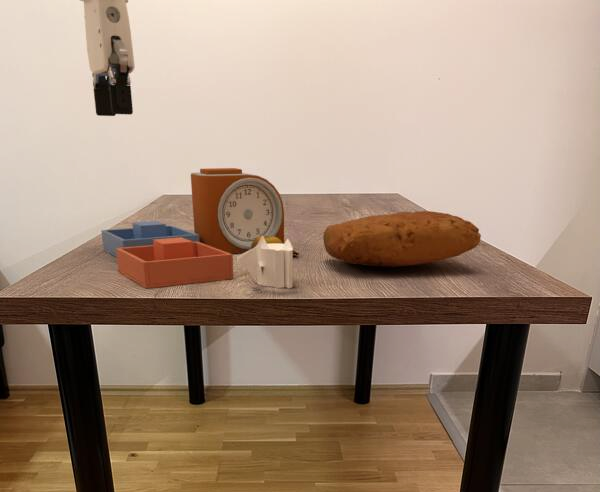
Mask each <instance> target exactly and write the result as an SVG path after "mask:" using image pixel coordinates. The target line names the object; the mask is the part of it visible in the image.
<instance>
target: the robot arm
mask: <svg viewBox="0 0 600 492" xmlns="http://www.w3.org/2000/svg"><path fill="white" fill-rule="evenodd" d="M79 1H80V2H83V11H84V12H83V13H84V15H83V16H84V17H83V18H84V28H85V41H86V50H87V51H86V52H87V59H88V66H89V70H90V71H91V74H92V75H91V76H92V78H93V79H92V87H93V96H94V97H93V98H94V106H95V114H96V116H100V117H115V116H116V115H133V114H134V110H133V109H134V107H133V98H132V97H133V96H132V86H131V82H132V81H131V77H130V74H131V73H132V72H134V70H135V56H134V48H133V47H134V46H133V39H132V33H131V32H132V31H131V26H130V25H131V24H130V18H129V12H128V7H127V3H129V0H79Z"/></svg>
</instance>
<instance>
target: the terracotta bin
mask: <svg viewBox="0 0 600 492" xmlns="http://www.w3.org/2000/svg"><path fill="white" fill-rule="evenodd" d="M116 253H117V258H116V260H117V269H118V272H119V273H120V274H122V275H123V276H125V277H127V278H128V279H130V280H132V281H133V282H135V283H136V284H137V285H139V286H141V287H143V288H144V289H153V288H154V289H155V288H162V287H163V288H164V287H172V286H180V285H189V284H197V283H199V284H200V283H207V282H208V283H209V282H215V281H226V280H233V279H234V257H233V254H234V253H233V254H230V253H228V252H225V251H222V250H219V249H217V248H214V247H211V246H208V245H206V244H203V243H200V242H193V253H194V257H190V258H179V259H168V260H157V261H155V257H154V246H153V245H149V246H137V247H125V248H116Z"/></svg>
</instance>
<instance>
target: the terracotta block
mask: <svg viewBox="0 0 600 492" xmlns="http://www.w3.org/2000/svg"><path fill="white" fill-rule="evenodd" d="M153 246H154V257H155V261H157V260H168V259H179V258H190V257H194V253H193V242H192V241H190V240H187V239H184V238H182V237H181V238H168V239H155V240H153Z"/></svg>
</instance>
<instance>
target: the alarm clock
mask: <svg viewBox="0 0 600 492" xmlns="http://www.w3.org/2000/svg"><path fill="white" fill-rule="evenodd" d="M190 185H191V199H192V200H191V202H192V216H193V231H194V232H193V233H195V234H198V235H199V241H200V243H203V244H206V245H208V246H211V247H214V248H217V249H219V250H222V251H225V252H228V253H230V254H243V253H245V252H247V251H249V250H251V245H252V243H253V241H254V239H255V238H257V237H258V236H262V235H263V236H265V235H266V236H269V237H276V238H278V239H280V240H281V242H282V243H283V244H284V243H285V209H284V201H283V200H282V199H283V198H282V197H281V194H280V192H279V191H278V189H277V188H276V187H275V185H274V184H272V182H270V181H269V180H268V179H266V178H264V177H262V176H260V175H256V174H253V173H252V174H250V173H245V172H243V170H242V169H241V168H237V167H236V168H235V167H222V168H220V167H219V168H217V167H216V168H200V169H199V172H191V173H190Z"/></svg>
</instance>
